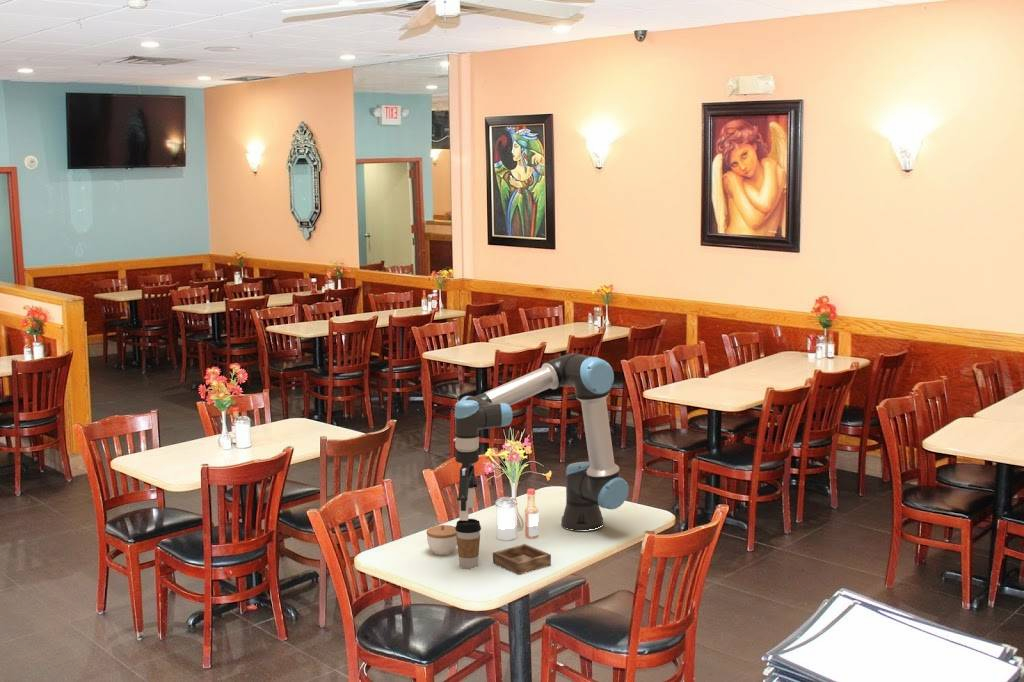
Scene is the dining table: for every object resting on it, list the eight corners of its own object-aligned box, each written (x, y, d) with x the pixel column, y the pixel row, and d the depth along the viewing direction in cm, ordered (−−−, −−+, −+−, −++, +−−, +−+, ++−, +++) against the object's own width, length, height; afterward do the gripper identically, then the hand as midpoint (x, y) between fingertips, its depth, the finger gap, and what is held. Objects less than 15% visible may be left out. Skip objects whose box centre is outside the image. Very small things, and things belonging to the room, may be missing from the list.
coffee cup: (459, 571, 335) (458, 526, 333) (453, 562, 343) (452, 518, 341) (484, 568, 337) (484, 523, 335) (478, 560, 345) (477, 515, 343)
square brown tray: (524, 554, 350) (524, 543, 350) (550, 565, 340) (550, 554, 339) (492, 563, 342) (492, 552, 342) (518, 574, 332) (518, 563, 331)
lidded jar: (457, 557, 348) (456, 530, 346) (425, 557, 348) (424, 530, 347) (460, 546, 358) (460, 520, 357) (429, 546, 359) (428, 520, 358)
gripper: (461, 439, 347) (461, 502, 350) (448, 458, 323) (449, 525, 326) (484, 440, 347) (484, 502, 349) (472, 459, 322) (472, 526, 325)
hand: (467, 513), depth 338 cm, fingers open, 13 cm apart
